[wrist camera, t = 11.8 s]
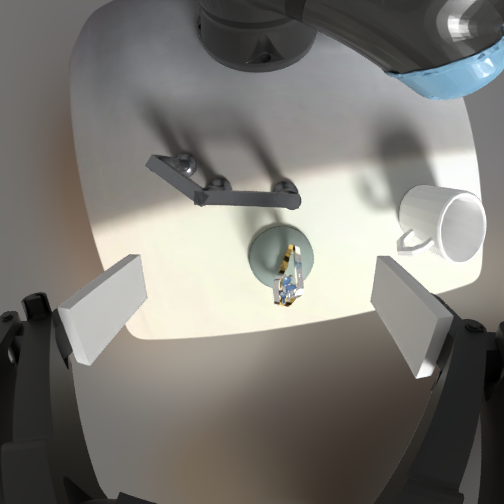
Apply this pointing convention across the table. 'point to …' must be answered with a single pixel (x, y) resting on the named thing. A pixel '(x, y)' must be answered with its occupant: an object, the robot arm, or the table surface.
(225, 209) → the table surface
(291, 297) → the ring
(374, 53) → the robot arm
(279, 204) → the bent grey rail
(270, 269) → the felt coaster
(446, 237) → the mug
